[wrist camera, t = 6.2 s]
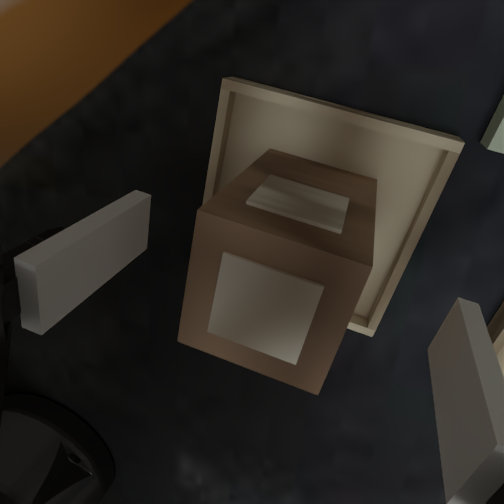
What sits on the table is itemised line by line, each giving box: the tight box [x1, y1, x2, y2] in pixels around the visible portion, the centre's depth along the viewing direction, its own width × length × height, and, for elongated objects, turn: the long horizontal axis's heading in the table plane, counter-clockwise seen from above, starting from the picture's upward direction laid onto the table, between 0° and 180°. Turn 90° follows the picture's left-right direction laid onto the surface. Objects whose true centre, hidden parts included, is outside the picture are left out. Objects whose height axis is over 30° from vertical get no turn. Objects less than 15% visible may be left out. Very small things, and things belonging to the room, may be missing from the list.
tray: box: [202, 76, 465, 337], centre depth 23 cm, size 12×12×2 cm
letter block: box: [177, 148, 377, 395], centre depth 19 cm, size 6×6×10 cm
